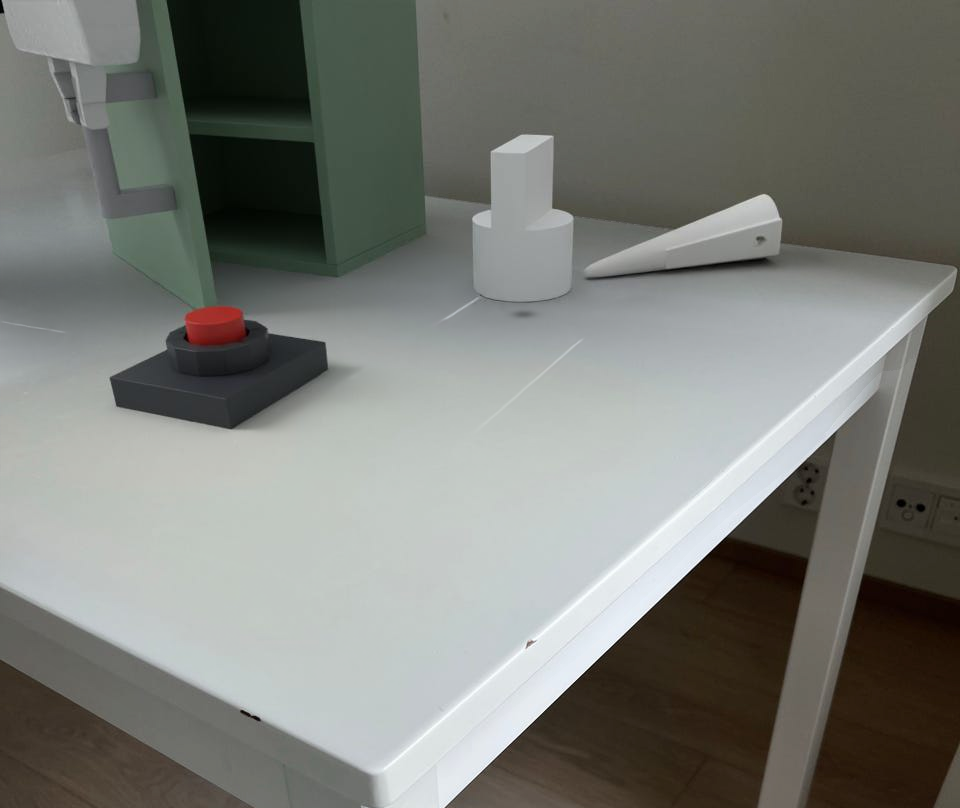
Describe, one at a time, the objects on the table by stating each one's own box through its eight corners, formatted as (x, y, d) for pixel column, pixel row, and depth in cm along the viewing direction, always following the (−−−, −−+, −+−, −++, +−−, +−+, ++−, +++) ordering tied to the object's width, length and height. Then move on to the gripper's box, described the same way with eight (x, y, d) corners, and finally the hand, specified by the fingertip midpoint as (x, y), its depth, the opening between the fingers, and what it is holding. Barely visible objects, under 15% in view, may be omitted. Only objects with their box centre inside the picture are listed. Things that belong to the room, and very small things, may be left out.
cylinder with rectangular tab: (491, 270, 97) (490, 132, 90) (582, 277, 94) (587, 136, 87) (459, 297, 90) (455, 150, 83) (555, 305, 87) (559, 155, 80)
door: (139, 331, 83) (64, -14, 69) (55, 262, 101) (-18, -23, 87) (219, 314, 86) (163, -19, 72) (124, 251, 104) (64, -26, 90)
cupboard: (338, 278, 95) (308, -29, 81) (124, 251, 105) (64, -28, 91) (426, 234, 108) (414, -37, 94) (229, 214, 118) (191, -35, 104)
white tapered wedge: (567, 280, 99) (749, 244, 102) (587, 305, 95) (778, 267, 97) (565, 221, 96) (754, 185, 98) (586, 245, 91) (784, 206, 93)
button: (223, 352, 69) (218, 326, 68) (177, 344, 70) (172, 319, 69) (257, 334, 71) (254, 309, 70) (212, 327, 73) (208, 303, 72)
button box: (231, 430, 67) (221, 372, 64) (116, 407, 70) (102, 351, 68) (328, 370, 75) (323, 317, 73) (221, 352, 79) (213, 301, 77)
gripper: (-45, -91, 75) (11, 116, 83) (34, -102, 61) (91, 147, 69) (41, -92, 78) (86, 108, 86) (134, -103, 64) (178, 136, 72)
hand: (89, 125), depth 77 cm, fingers closed on door, 2 cm apart
